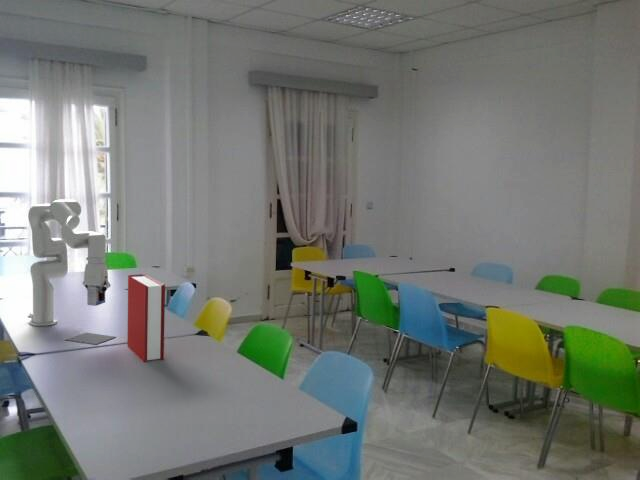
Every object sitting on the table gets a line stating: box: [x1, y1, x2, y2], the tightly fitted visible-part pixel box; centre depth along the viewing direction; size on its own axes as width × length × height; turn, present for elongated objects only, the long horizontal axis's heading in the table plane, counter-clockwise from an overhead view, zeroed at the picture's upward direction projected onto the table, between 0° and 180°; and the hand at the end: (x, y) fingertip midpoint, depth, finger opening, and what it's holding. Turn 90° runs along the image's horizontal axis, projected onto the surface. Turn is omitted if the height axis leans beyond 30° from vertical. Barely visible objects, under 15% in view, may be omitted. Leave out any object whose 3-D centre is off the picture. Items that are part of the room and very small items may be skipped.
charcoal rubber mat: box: [64, 332, 117, 346], centre depth 276 cm, size 17×14×1 cm
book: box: [126, 273, 166, 363], centre depth 258 cm, size 27×8×32 cm, turn 33°
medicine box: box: [86, 286, 106, 307], centre depth 274 cm, size 8×4×9 cm, turn 168°
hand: (96, 299), depth 274 cm, fingers closed on medicine box, 4 cm apart
